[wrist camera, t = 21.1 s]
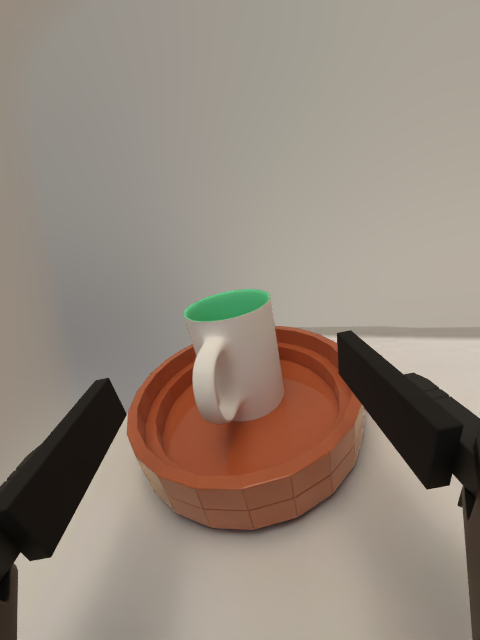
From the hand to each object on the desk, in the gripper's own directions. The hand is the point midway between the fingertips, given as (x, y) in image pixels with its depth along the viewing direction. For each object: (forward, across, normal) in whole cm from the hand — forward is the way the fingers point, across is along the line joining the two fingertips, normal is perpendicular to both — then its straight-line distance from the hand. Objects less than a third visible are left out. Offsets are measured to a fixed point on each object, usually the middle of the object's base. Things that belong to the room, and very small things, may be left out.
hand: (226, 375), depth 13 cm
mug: (+7, 0, -9) cm, 12 cm away
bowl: (+7, 0, -10) cm, 12 cm away
